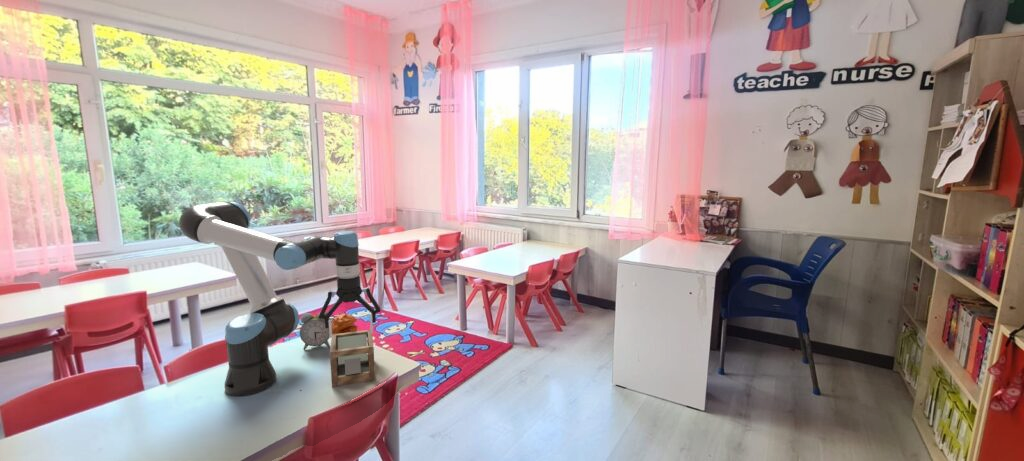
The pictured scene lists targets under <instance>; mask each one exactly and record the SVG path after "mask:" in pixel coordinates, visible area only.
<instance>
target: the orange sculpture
mask: <svg viewBox="0 0 1024 461" xmlns="http://www.w3.org/2000/svg"><path fill="white" fill-rule="evenodd" d="M331 322H332V334H339V333H348V332H356V331H358V327H359V326H358V325H356V324H355V323H356V322H357V318H356V316H354V315H352V314H349V311H348V312H347V313H341V314H339V315H337V316H335V317H334V318H331Z"/></svg>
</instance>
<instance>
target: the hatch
mask: <svg viewBox="0 0 1024 461" xmlns="http://www.w3.org/2000/svg"><path fill="white" fill-rule="evenodd" d="M337 339H338V350H340V349H347V348H355V347H362V346H368V344H367V334H361V335H353V336H345V337H337ZM354 358H360V362H366V361H368V353H364V354H357V355H350V356H343V357H338V365H345V360H347V359H354Z"/></svg>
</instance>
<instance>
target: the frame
mask: <svg viewBox="0 0 1024 461" xmlns="http://www.w3.org/2000/svg"><path fill="white" fill-rule="evenodd" d="M361 334H367V346H362V347H355V348H347V349H340V350H338V339H337V337H345V336H353V335H361ZM330 339H331V341H330V347H329V364H330V375H331V376H330V377H331V380H330V381H331V387H332V388H335V387H338V386H345V385H351V384H357V383H363V382H373V381H376V372H375V371H376V370H375V351H374V350H375V347H374V338H373V333H371V329H367V330H357V331H356V332H348V333H339V334H332V338H330ZM364 353H368V361H366V362H360V363H361V364H362V365H363V364H368V371H363V372H362V371H361V373H356V374H350V375H345V374H343V375H338V373H339V372H338V370H339V368H341V367H345V365H338V357H343V356H350V355H357V354H364Z"/></svg>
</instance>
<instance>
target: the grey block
mask: <svg viewBox="0 0 1024 461" xmlns="http://www.w3.org/2000/svg"><path fill="white" fill-rule="evenodd" d="M361 369H362V366H361V363H360V358H354V359H347V360H345V366H344V375H350V374H356V373H361V372H362V370H361Z"/></svg>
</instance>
